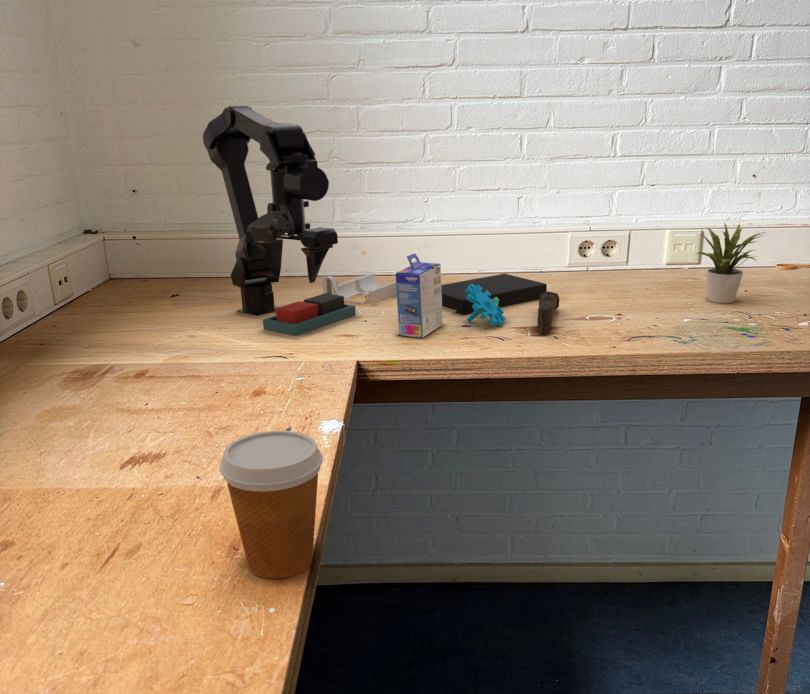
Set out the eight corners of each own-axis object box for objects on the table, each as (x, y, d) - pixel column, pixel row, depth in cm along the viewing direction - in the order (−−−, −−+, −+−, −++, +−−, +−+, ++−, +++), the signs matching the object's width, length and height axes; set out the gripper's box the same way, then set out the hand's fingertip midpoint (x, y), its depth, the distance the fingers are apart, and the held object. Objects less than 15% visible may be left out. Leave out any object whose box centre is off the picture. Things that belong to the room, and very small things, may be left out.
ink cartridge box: (417, 322, 158) (416, 249, 153) (443, 325, 156) (442, 251, 151) (396, 335, 150) (394, 259, 145) (423, 338, 147) (421, 261, 142)
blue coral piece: (494, 324, 149) (462, 283, 151) (472, 343, 152) (441, 302, 154) (517, 318, 158) (487, 279, 160) (496, 336, 161) (467, 298, 163)
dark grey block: (305, 319, 160) (303, 299, 159) (326, 312, 165) (325, 293, 164) (323, 322, 158) (322, 302, 156) (344, 315, 162) (343, 296, 161)
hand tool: (539, 309, 165) (540, 287, 164) (559, 310, 164) (559, 288, 163) (527, 335, 148) (528, 311, 147) (549, 336, 147) (550, 311, 145)
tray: (263, 331, 154) (262, 319, 153) (324, 311, 168) (323, 300, 167) (295, 338, 149) (294, 325, 149) (356, 317, 163) (355, 305, 162)
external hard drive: (422, 301, 174) (422, 288, 172) (503, 286, 186) (503, 273, 185) (463, 314, 162) (463, 300, 161) (546, 297, 175) (547, 283, 174)
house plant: (763, 312, 159) (774, 230, 153) (689, 308, 163) (697, 227, 157) (758, 295, 171) (768, 219, 166) (689, 292, 176) (697, 217, 170)
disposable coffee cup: (211, 578, 75) (197, 463, 71) (262, 529, 84) (252, 423, 80) (300, 597, 72) (291, 478, 68) (345, 544, 80) (339, 435, 76)
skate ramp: (372, 305, 171) (371, 282, 170) (323, 298, 178) (322, 276, 176) (409, 291, 183) (408, 269, 182) (362, 285, 190) (361, 264, 188)
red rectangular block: (277, 328, 155) (275, 308, 153) (300, 320, 159) (299, 301, 158) (295, 332, 152) (294, 311, 150) (318, 324, 157) (317, 304, 155)
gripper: (220, 199, 146) (228, 282, 151) (294, 204, 135) (300, 294, 141) (264, 192, 154) (271, 272, 160) (337, 197, 144) (342, 282, 149)
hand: (294, 280), depth 152 cm, fingers open, 9 cm apart
